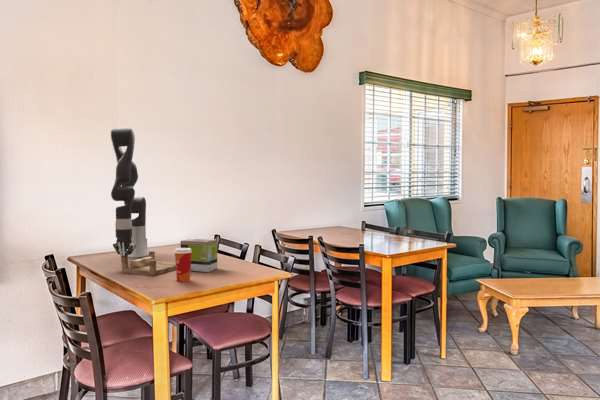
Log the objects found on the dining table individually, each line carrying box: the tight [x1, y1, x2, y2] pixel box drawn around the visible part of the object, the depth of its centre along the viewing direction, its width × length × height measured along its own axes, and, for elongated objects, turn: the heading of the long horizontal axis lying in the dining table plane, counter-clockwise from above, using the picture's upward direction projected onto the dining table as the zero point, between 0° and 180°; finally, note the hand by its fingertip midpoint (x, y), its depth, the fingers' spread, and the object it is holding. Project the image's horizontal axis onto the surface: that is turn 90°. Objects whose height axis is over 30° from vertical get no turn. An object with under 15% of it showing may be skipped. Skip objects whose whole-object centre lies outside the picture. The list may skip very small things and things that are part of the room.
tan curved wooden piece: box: [129, 254, 156, 268], centre depth 234 cm, size 15×2×4 cm, turn 155°
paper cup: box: [173, 247, 192, 283], centre depth 211 cm, size 8×8×14 cm
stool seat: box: [121, 250, 176, 277], centre depth 233 cm, size 20×19×7 cm
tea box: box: [180, 237, 218, 273], centre depth 234 cm, size 15×10×15 cm, turn 71°
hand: (124, 263), depth 232 cm, fingers closed
